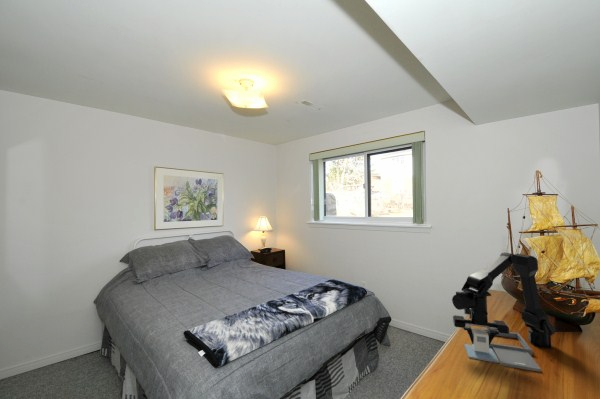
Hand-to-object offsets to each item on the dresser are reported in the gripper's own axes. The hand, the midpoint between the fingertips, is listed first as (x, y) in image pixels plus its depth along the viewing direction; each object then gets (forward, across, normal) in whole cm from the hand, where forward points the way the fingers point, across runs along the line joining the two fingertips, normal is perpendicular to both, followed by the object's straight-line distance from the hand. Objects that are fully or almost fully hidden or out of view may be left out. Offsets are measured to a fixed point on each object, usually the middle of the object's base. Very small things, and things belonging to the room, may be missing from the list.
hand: (480, 344), depth 110 cm
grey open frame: (+4, -11, -7) cm, 14 cm away
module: (+2, 0, 0) cm, 2 cm away
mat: (+4, 0, 0) cm, 4 cm away
